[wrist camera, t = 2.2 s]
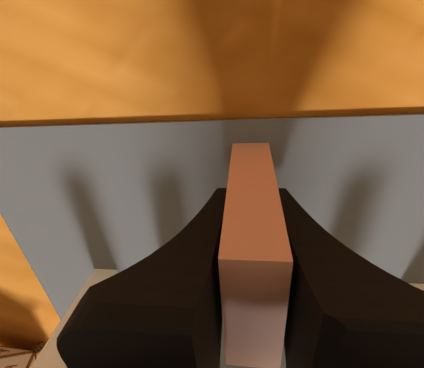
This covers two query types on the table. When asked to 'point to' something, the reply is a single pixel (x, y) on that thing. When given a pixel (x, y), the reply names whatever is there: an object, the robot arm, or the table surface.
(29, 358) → the game die
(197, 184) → the felt mat
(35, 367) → the domino
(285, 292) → the domino
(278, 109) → the table surface
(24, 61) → the table surface
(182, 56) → the table surface
